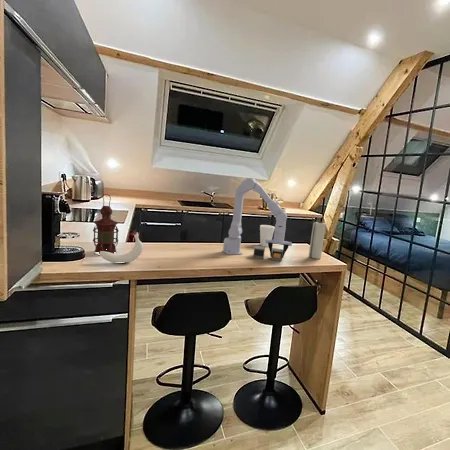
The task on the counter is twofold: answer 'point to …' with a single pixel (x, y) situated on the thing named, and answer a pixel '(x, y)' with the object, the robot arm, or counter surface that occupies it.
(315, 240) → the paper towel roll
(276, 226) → the robot arm
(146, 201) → the counter surface
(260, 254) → the grey hollow cube
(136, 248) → the banana
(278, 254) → the orange block
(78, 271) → the counter surface
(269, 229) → the foam cup
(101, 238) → the lantern
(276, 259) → the open grey box
